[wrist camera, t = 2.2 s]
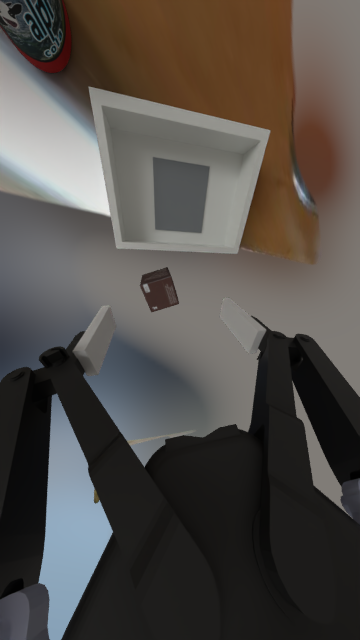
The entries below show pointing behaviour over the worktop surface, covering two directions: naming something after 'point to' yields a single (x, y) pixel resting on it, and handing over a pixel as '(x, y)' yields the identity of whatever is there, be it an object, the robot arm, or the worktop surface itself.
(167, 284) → the box
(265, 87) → the worktop surface
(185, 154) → the tray
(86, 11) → the worktop surface
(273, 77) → the worktop surface
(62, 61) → the beverage can
